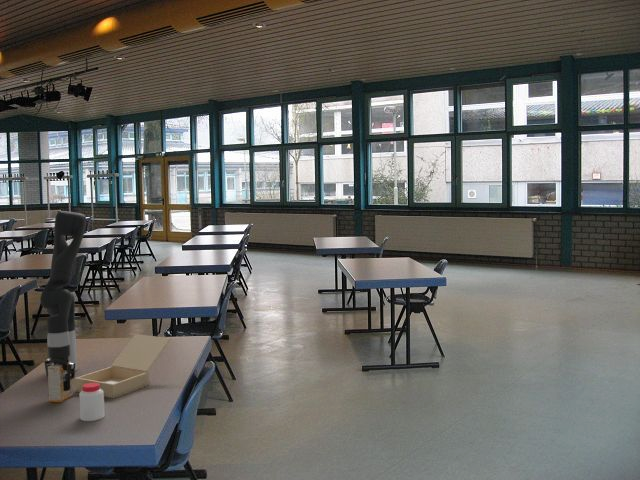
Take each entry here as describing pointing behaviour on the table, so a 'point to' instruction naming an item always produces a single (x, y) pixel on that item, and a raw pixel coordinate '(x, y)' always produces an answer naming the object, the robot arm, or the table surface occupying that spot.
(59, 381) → the supplement box
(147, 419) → the table surface
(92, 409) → the pill bottle
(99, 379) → the box
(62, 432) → the table surface
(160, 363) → the table surface
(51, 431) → the table surface
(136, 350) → the flap
